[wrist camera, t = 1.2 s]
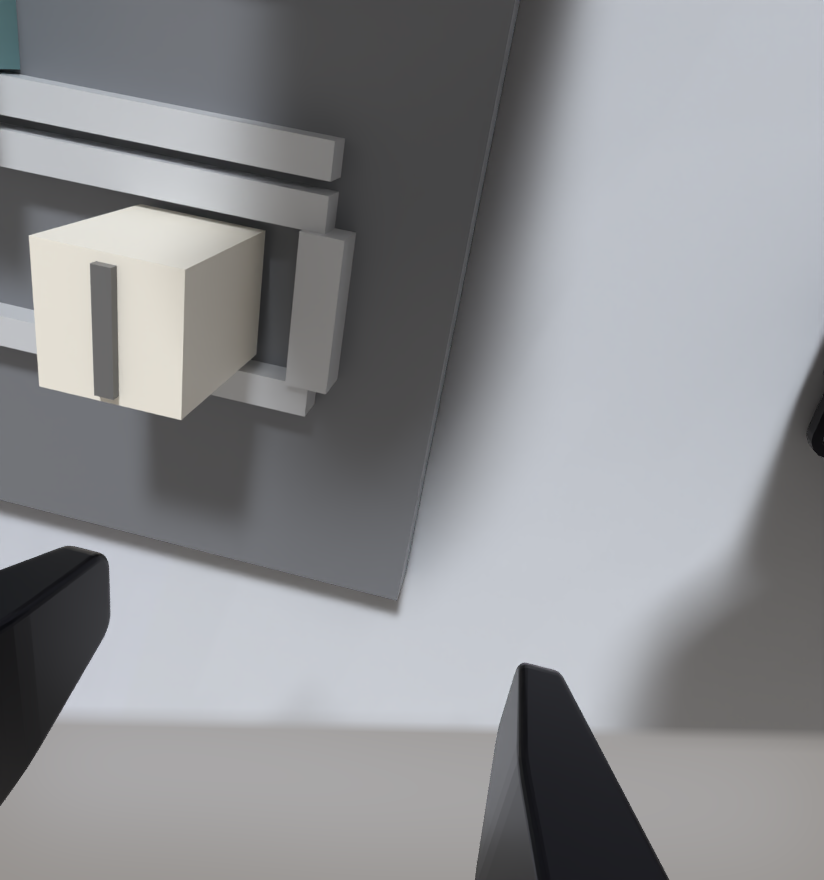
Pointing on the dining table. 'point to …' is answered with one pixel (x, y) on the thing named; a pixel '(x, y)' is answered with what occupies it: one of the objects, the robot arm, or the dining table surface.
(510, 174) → the dining table surface
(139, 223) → the fader cap
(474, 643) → the dining table surface
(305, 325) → the console board
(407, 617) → the dining table surface
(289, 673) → the dining table surface
